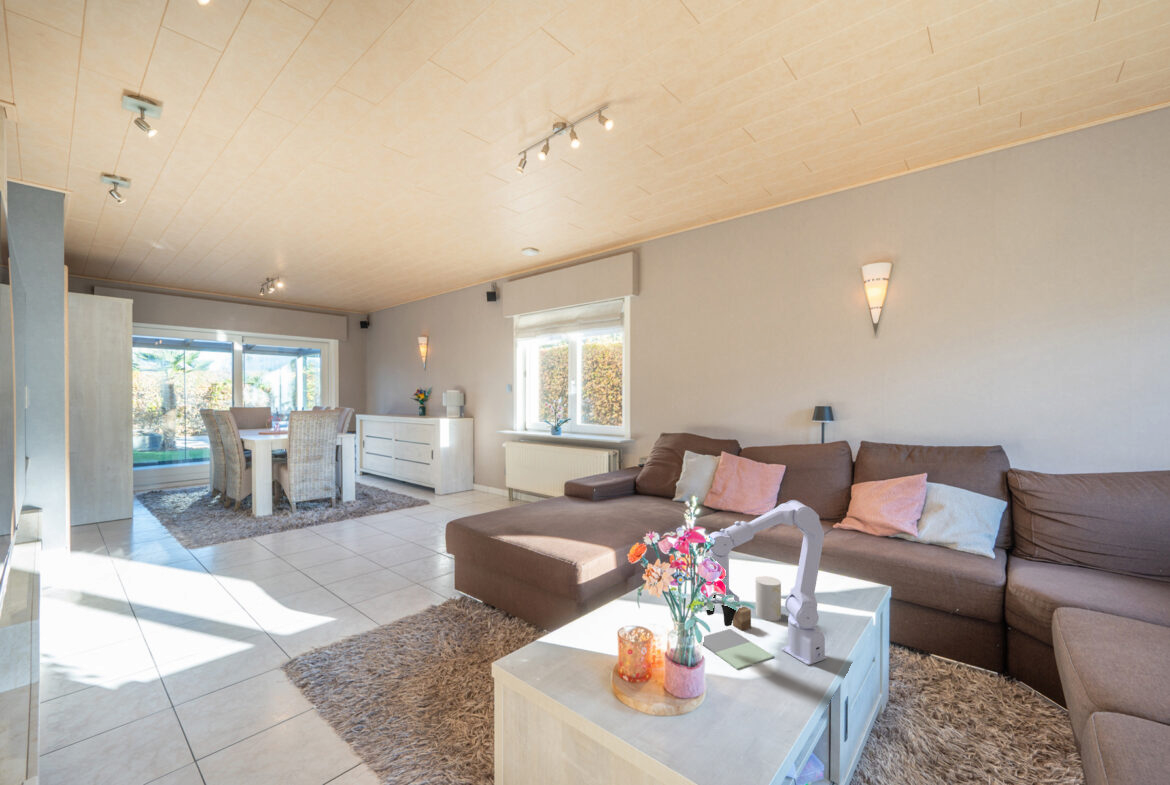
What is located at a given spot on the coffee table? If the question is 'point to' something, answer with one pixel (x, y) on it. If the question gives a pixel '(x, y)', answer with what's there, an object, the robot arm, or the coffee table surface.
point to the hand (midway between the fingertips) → (719, 619)
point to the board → (735, 649)
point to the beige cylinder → (768, 598)
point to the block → (742, 619)
